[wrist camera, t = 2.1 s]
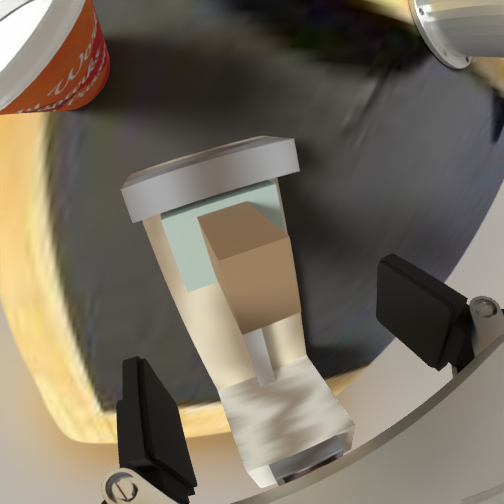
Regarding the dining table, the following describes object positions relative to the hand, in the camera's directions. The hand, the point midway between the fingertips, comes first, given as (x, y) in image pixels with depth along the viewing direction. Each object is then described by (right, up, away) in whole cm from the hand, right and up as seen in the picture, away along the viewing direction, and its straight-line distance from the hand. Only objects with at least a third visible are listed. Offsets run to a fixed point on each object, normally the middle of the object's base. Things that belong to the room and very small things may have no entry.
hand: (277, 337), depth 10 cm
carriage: (-3, +5, +10) cm, 12 cm away
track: (-2, -2, +16) cm, 16 cm away
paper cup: (-13, +15, +4) cm, 21 cm away
